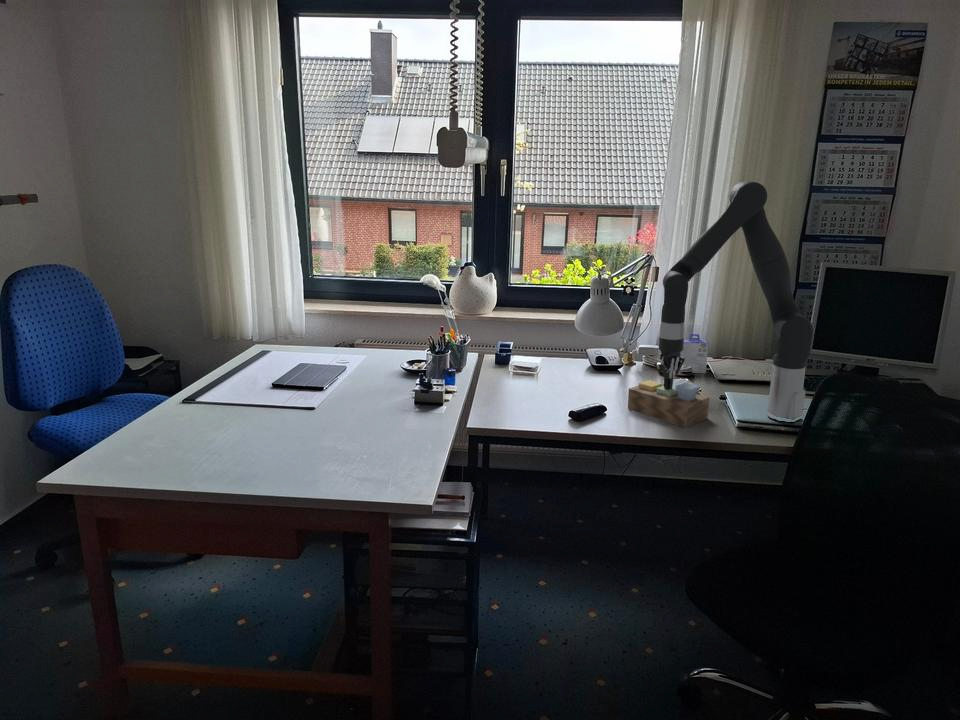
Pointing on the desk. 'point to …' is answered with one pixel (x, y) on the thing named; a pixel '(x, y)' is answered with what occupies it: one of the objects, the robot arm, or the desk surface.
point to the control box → (668, 406)
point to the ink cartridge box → (695, 354)
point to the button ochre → (650, 385)
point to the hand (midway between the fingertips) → (668, 388)
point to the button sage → (667, 391)
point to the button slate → (687, 391)
